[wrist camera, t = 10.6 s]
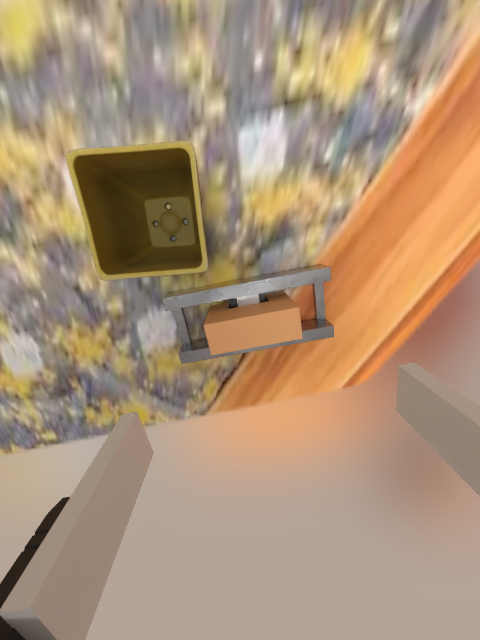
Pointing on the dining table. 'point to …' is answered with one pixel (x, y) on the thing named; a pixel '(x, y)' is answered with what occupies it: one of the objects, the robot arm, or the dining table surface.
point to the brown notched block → (252, 324)
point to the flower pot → (141, 208)
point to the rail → (248, 295)
